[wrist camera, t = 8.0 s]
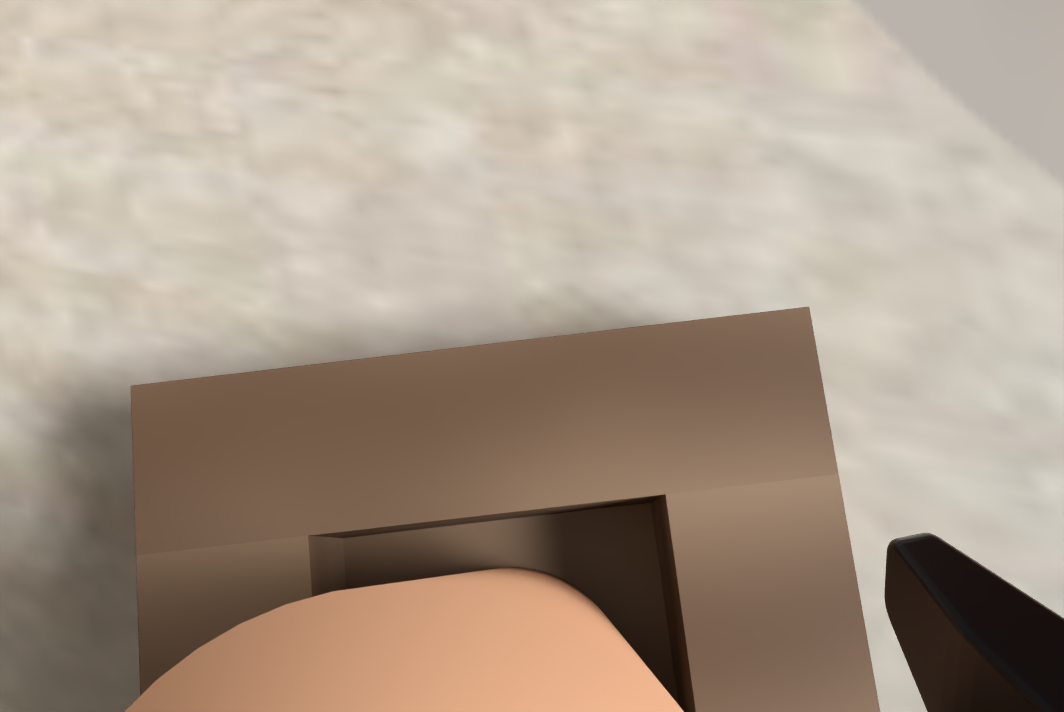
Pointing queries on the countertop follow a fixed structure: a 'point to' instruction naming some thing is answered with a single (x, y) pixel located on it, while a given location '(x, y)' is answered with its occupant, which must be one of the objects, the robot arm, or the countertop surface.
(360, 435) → the socket block
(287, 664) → the peg
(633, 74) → the countertop surface
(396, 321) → the countertop surface
